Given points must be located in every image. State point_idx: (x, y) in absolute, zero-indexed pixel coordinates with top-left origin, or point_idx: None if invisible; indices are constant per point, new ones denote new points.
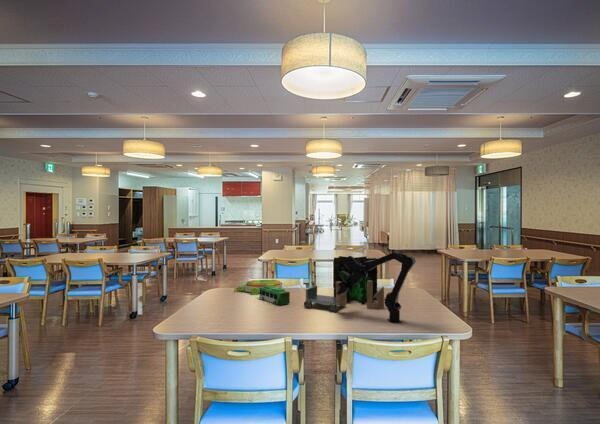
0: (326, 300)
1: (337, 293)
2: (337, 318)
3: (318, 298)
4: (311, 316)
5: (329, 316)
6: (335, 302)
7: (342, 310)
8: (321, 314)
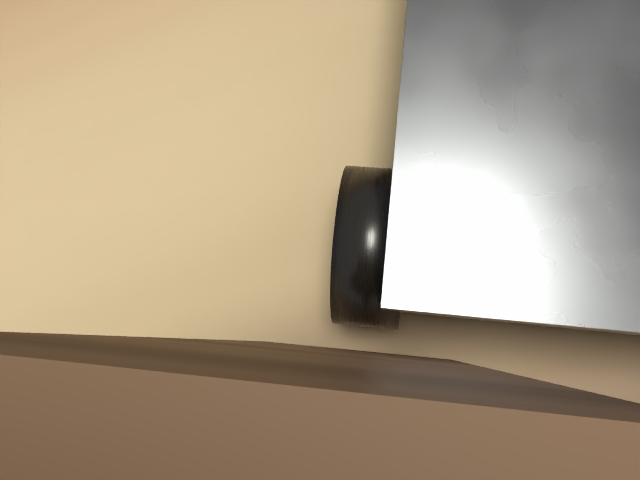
0: (484, 20)
1: None
2: None
3: None
4: (10, 50)
5: (103, 291)
6: (391, 280)
7: (562, 376)
8: (162, 137)
